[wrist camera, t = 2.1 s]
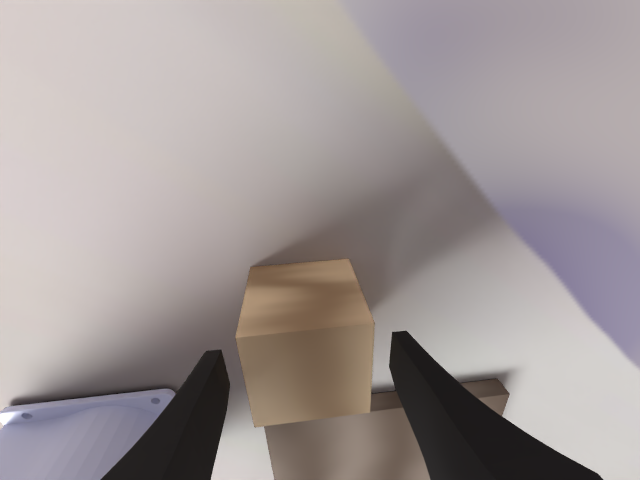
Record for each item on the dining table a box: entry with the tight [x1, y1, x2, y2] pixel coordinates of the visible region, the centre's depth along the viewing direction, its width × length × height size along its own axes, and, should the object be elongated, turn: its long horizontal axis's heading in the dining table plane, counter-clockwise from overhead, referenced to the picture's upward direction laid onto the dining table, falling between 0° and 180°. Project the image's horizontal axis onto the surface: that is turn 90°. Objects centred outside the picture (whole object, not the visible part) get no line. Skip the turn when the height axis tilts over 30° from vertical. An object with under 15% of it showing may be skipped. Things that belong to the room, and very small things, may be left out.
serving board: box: [264, 379, 509, 480], centre depth 22 cm, size 16×14×1 cm
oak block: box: [235, 259, 375, 427], centre depth 14 cm, size 5×5×5 cm
